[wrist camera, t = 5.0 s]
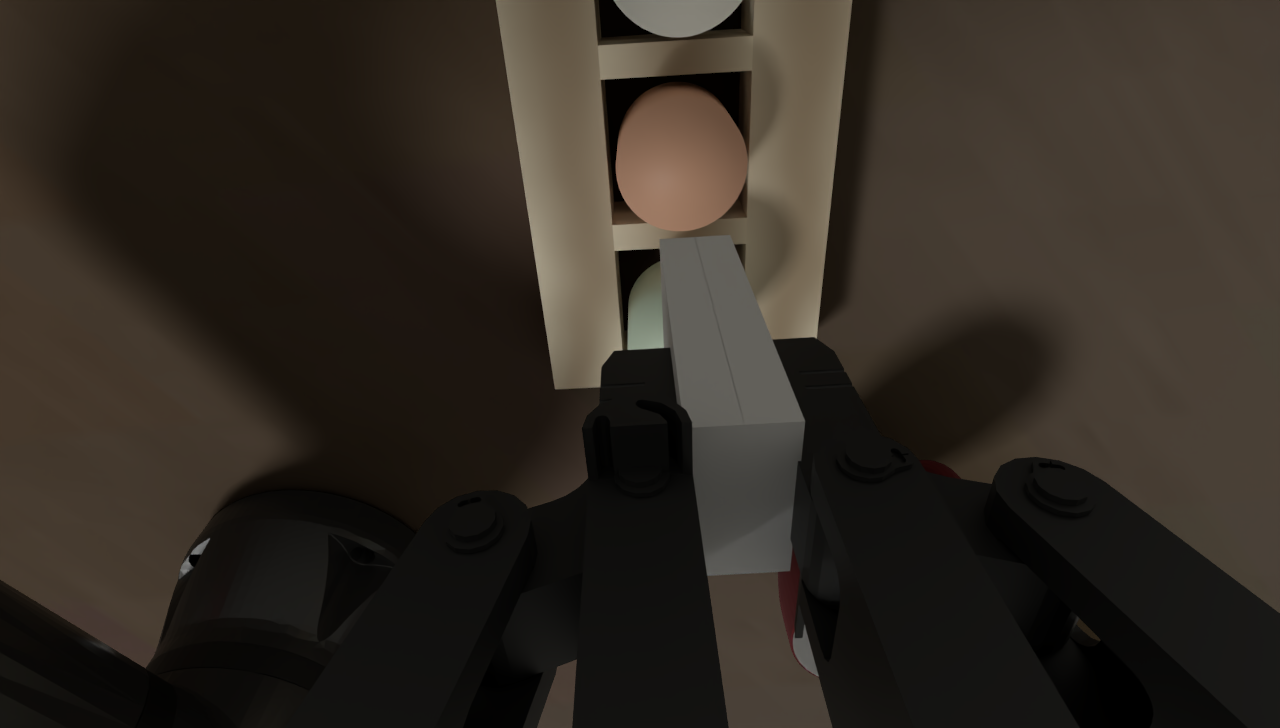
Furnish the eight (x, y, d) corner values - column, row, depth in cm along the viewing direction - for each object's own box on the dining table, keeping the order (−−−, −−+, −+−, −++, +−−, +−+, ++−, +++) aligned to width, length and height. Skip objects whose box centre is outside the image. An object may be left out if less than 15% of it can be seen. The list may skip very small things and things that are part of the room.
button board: (561, 356, 32) (555, 389, 30) (485, -182, 21) (465, -202, 19) (798, 343, 32) (812, 376, 30) (847, -207, 21) (876, -231, 18)
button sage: (631, 354, 29) (631, 398, 26) (624, 259, 26) (623, 296, 23) (733, 349, 29) (744, 393, 26) (735, 253, 26) (748, 289, 23)
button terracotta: (621, 204, 26) (620, 234, 24) (613, 85, 24) (610, 102, 21) (732, 198, 26) (745, 227, 23) (735, 78, 24) (749, 93, 21)
